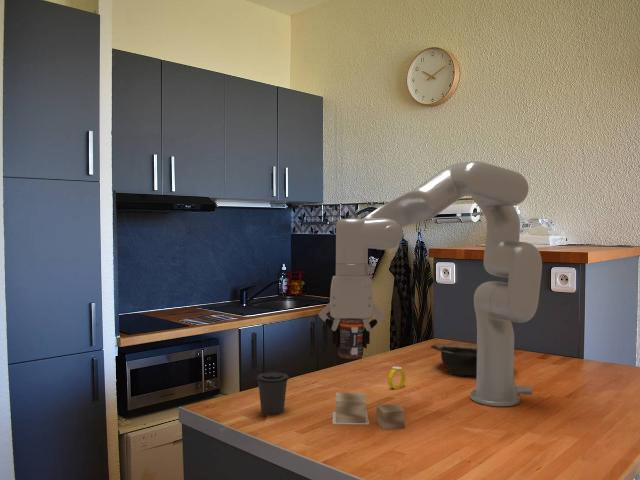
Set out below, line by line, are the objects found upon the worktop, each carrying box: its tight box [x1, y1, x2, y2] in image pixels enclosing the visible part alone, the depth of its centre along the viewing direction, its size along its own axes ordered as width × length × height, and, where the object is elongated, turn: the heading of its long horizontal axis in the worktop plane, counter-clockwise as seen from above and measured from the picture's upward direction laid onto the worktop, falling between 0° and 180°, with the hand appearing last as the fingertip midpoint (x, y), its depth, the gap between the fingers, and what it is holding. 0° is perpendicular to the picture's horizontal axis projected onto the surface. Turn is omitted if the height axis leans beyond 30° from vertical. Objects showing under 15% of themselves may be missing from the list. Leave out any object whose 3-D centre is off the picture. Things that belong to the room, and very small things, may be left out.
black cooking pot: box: [430, 344, 477, 377], centre depth 183 cm, size 25×25×9 cm
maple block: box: [335, 391, 367, 423], centre depth 135 cm, size 7×7×5 cm
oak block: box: [375, 403, 406, 431], centre depth 130 cm, size 5×5×4 cm
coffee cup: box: [255, 371, 290, 418], centre depth 140 cm, size 8×8×10 cm
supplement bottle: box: [337, 318, 365, 360], centre depth 135 cm, size 6×6×11 cm
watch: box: [387, 366, 406, 390], centre depth 163 cm, size 6×3×6 cm, turn 130°
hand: (350, 346), depth 135 cm, fingers closed on supplement bottle, 6 cm apart
